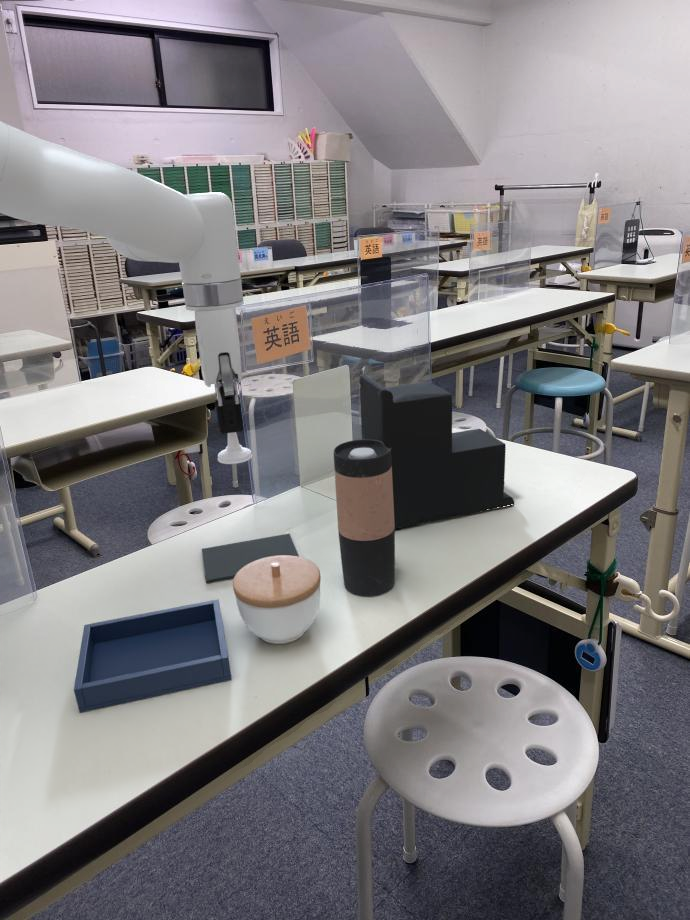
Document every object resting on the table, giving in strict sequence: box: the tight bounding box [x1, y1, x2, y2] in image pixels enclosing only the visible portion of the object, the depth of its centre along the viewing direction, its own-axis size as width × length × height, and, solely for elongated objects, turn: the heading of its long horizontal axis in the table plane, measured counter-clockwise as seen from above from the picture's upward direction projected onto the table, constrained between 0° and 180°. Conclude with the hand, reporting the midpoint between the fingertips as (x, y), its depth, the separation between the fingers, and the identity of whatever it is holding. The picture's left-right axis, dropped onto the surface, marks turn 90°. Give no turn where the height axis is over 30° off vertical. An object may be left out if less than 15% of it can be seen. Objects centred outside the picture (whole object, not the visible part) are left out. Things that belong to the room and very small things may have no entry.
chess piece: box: [217, 432, 253, 465], centre depth 95 cm, size 5×5×10 cm
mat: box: [201, 533, 300, 584], centre depth 104 cm, size 14×10×1 cm
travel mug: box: [333, 439, 396, 597], centre depth 92 cm, size 8×8×20 cm
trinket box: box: [232, 555, 322, 645], centre depth 85 cm, size 11×11×9 cm
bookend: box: [358, 373, 515, 530], centre depth 112 cm, size 23×11×24 cm, turn 108°
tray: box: [73, 598, 233, 714], centre depth 81 cm, size 17×13×3 cm
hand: (230, 427), depth 96 cm, fingers closed on chess piece
